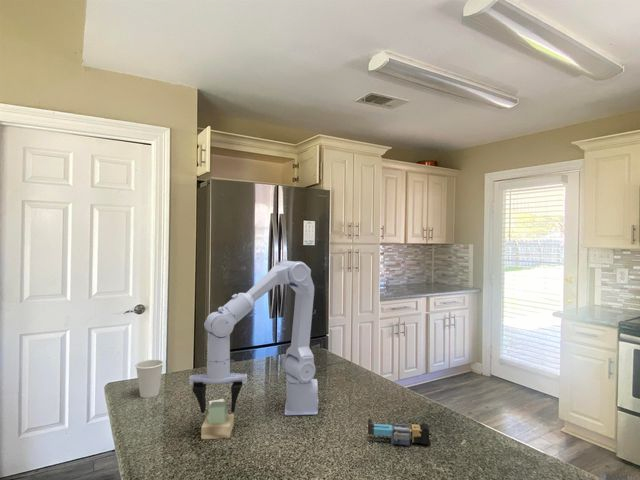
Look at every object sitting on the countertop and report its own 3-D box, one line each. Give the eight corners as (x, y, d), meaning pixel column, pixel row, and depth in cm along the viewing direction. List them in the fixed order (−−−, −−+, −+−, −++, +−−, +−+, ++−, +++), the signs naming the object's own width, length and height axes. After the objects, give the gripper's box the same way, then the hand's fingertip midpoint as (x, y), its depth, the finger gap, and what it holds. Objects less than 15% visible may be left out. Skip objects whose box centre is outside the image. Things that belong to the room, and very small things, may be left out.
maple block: (233, 425, 104) (233, 413, 104) (229, 438, 97) (229, 426, 97) (207, 425, 103) (207, 414, 103) (201, 439, 96) (201, 427, 96)
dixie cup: (164, 388, 130) (164, 358, 130) (162, 397, 122) (162, 366, 122) (137, 390, 127) (137, 360, 127) (133, 401, 119) (133, 368, 119)
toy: (368, 416, 100) (428, 420, 98) (368, 433, 100) (427, 438, 98) (368, 426, 94) (431, 431, 92) (368, 445, 94) (431, 450, 92)
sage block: (227, 416, 102) (227, 401, 102) (224, 423, 98) (224, 408, 98) (212, 416, 102) (212, 401, 102) (208, 424, 98) (208, 408, 98)
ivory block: (223, 412, 112) (223, 398, 112) (225, 418, 108) (225, 404, 108) (209, 415, 110) (209, 401, 110) (211, 421, 106) (211, 406, 106)
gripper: (248, 353, 105) (248, 403, 105) (194, 354, 104) (193, 405, 104) (245, 362, 98) (244, 415, 98) (186, 363, 97) (186, 417, 97)
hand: (218, 411), depth 100 cm, fingers open, 7 cm apart
